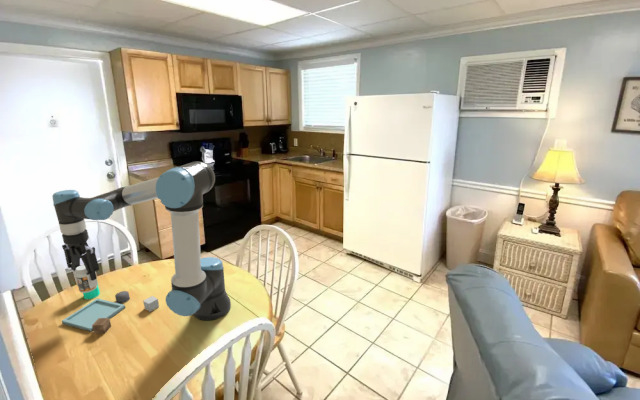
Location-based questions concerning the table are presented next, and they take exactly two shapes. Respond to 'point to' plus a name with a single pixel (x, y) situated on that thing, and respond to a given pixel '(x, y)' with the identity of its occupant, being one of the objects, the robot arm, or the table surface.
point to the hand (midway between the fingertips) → (87, 285)
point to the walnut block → (101, 325)
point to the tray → (93, 314)
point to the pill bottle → (83, 279)
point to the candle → (92, 293)
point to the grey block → (151, 303)
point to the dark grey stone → (122, 297)
